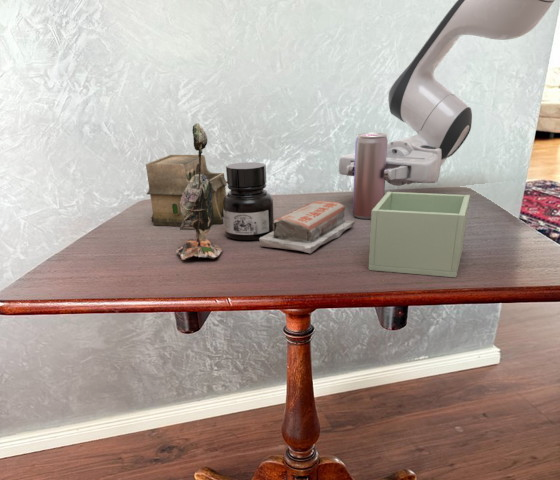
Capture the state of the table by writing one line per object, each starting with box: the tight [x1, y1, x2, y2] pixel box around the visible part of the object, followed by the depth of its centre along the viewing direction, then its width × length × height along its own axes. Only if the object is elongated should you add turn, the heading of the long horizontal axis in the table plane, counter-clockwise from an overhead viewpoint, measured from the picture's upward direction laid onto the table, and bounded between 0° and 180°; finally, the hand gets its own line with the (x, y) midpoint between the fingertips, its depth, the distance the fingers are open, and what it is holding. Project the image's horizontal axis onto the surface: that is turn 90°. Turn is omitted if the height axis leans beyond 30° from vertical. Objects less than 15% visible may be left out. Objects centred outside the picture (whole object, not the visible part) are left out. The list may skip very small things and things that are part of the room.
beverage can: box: [352, 132, 389, 220], centre depth 104 cm, size 6×6×15 cm
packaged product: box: [258, 200, 356, 254], centre depth 95 cm, size 18×5×10 cm
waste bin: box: [368, 191, 471, 279], centre depth 82 cm, size 13×13×9 cm
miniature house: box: [145, 154, 228, 231], centre depth 107 cm, size 15×14×11 cm
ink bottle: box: [223, 161, 275, 241], centre depth 96 cm, size 10×9×12 cm
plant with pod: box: [175, 122, 224, 260], centre depth 86 cm, size 8×11×20 cm
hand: (367, 173), depth 103 cm, fingers open, 7 cm apart
